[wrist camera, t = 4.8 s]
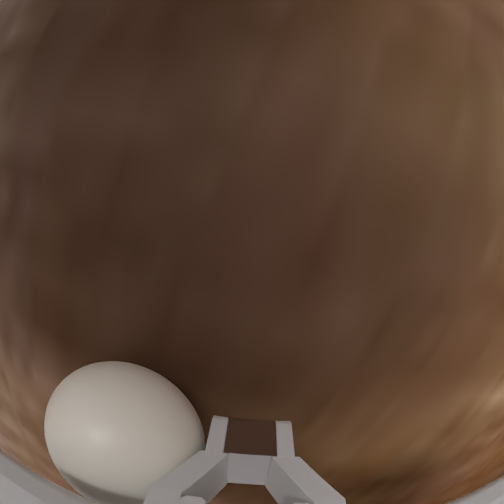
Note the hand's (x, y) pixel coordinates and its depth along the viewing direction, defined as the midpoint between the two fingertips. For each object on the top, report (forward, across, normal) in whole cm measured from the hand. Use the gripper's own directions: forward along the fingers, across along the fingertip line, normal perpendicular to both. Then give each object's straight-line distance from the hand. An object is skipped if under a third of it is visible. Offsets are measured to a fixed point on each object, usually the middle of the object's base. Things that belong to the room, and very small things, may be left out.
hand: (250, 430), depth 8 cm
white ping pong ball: (-1, +4, 0) cm, 4 cm away
